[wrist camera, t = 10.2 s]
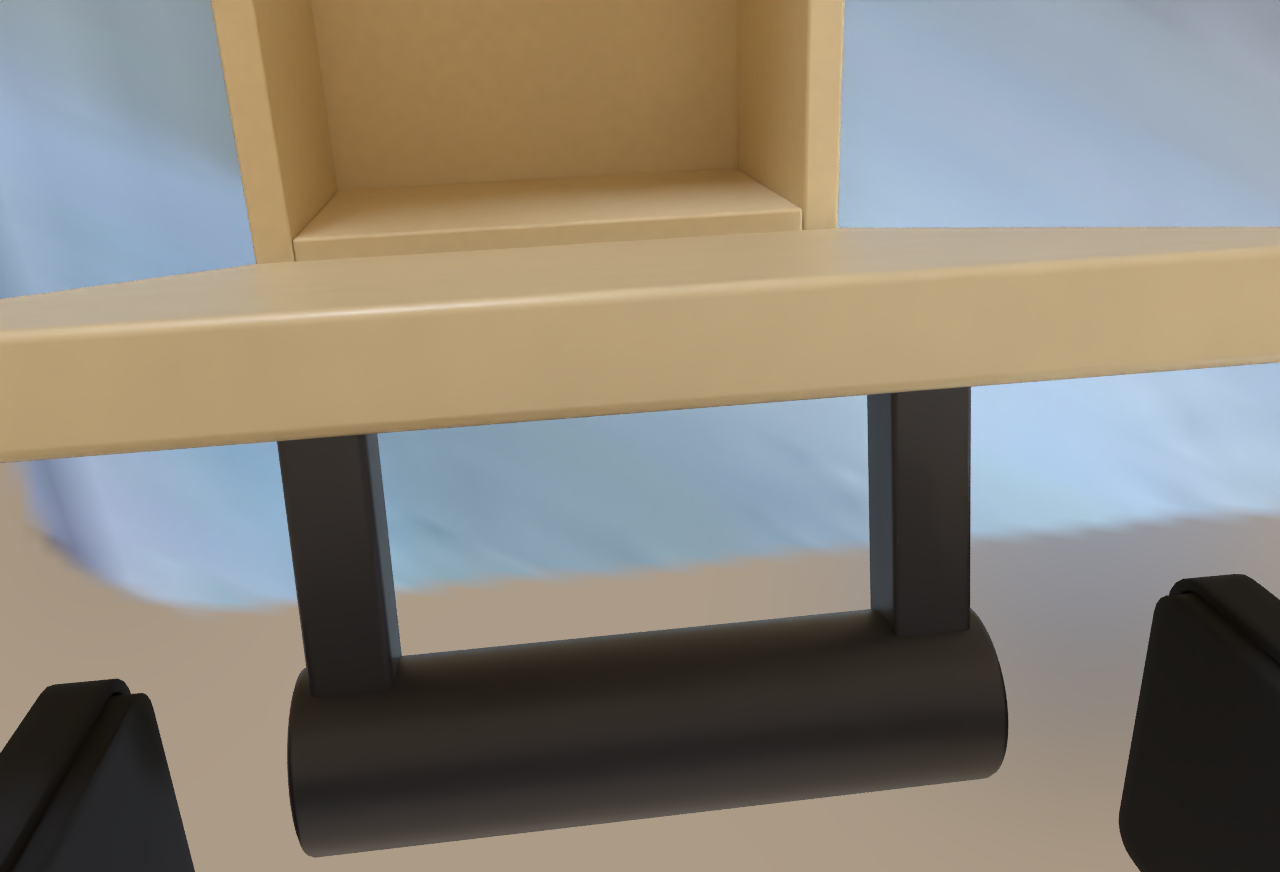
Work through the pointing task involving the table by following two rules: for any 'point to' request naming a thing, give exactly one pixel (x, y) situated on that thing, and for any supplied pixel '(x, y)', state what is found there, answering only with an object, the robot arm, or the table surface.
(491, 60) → the chest
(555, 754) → the lid
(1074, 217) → the table surface
